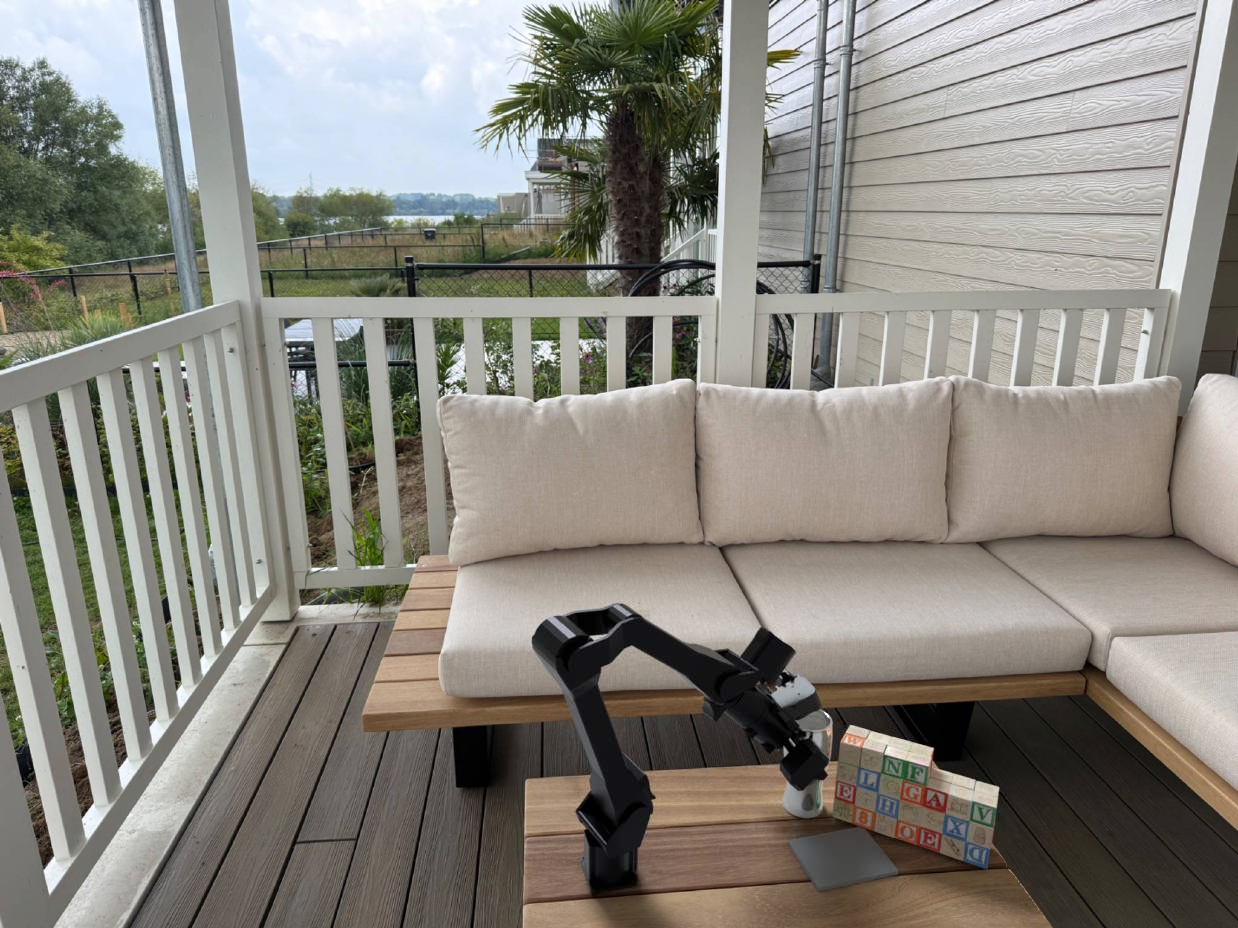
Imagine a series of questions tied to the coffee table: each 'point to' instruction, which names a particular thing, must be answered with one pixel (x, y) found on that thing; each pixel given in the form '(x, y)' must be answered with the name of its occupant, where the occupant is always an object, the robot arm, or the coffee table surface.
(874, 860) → the charcoal mat
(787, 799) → the chrome tapered cup
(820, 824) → the coffee table surface
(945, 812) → the stack of blocks
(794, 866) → the coffee table surface
